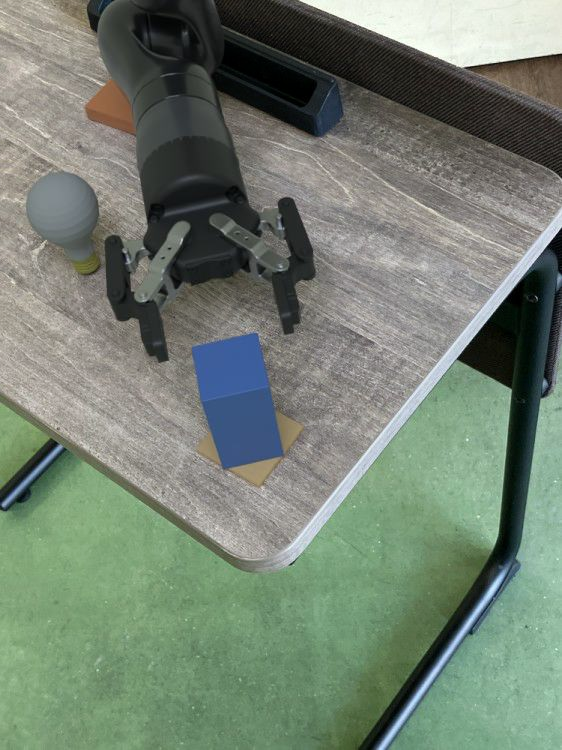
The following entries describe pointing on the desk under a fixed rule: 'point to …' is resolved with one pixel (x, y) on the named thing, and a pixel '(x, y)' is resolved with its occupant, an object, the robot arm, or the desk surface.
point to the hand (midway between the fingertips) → (225, 341)
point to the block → (237, 400)
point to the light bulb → (66, 216)
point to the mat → (261, 469)
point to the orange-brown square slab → (111, 108)
